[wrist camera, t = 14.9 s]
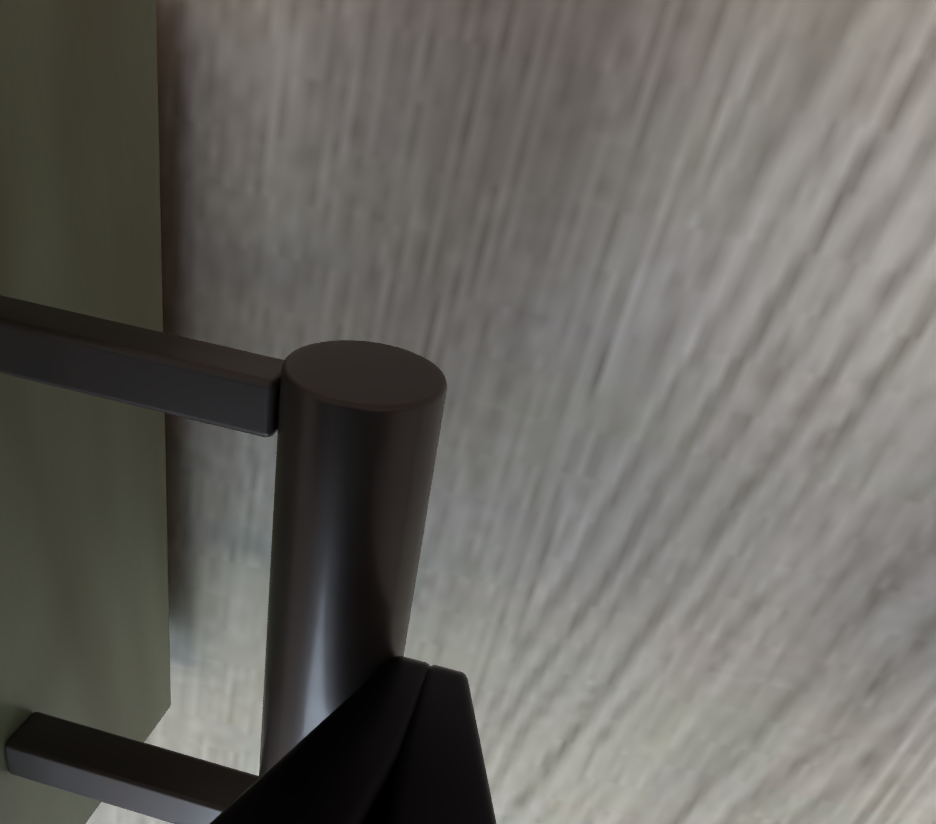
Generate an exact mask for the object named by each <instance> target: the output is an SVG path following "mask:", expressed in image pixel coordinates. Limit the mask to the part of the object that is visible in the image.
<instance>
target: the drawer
mask: <svg viewBox="0 0 936 824" xmlns="http://www.w3.org/2000/svg"><path fill="white" fill-rule="evenodd" d="M446 391H447V383H446V379H445V376H444V374H443V372H442V371H441V370H440V369H439V368H438V367H437V366H436V365H435V364H434V363H432V362H431V361H429V360H427V359H426V358H424V357H422V356H420V355H418V354H415V353H413V352H410V351H408V350H405V349H401V348H398V347H394V346H390V345H386V344H381V343H374V342H366V341H346V340H342V341H327V342H320V343H315V344H311V345H307V346H304V347H301V348H299V349H297V350H295V351H294V352H292V353H291V354H290V355H289V356H288V357H287V358H286V359H285V360H281V359H277V358H272V357H268V356H264V355H259V354H255V353H250V352H246V351H242V350H237V349H233V348H229V347H224V346H220V345H216V344H211V343H207V342H203V341H198V340H194V339H189V338H185V337H181V336H176V335H172V334H168V333H163V308H162V261H161V213H160V165H159V117H158V70H157V22H156V0H0V824H86V822H87V821H88V819H89V818H90V817H91V815H92V814H93V812H94V811H95V810H96V808H97V807H98V806H99V804H100V803H101V802H104V803H108V804H111V805H114V806H117V807H121V808H124V809H127V810H131V811H134V812H137V813H141V814H144V815H147V816H150V817H154V818H157V819H160V820H164V821H167V822H170V823H174V824H210V823H211V822H212V821H213V820H214V819H215V818H216V817H217V816H219V815H220V814H221V813H222V812H223V811H224V810H225V809H226V808H227V807H228V806H230V805H231V804H232V803H233V802H234V801H235V800H236V799H237V798H238V797H239V796H241V795H242V794H243V793H244V792H245V791H246V790H247V789H248V788H249V787H251V786H252V785H253V784H254V783H255V782H256V781H257V780H258V779H259V778H260V777H262V776H263V775H264V774H265V773H266V772H267V771H268V770H269V769H270V768H271V767H273V766H274V765H275V764H276V763H277V762H278V761H279V760H280V759H281V758H282V757H284V756H285V755H286V754H287V753H288V752H289V751H290V750H291V749H292V748H293V747H295V746H296V745H297V744H298V743H299V742H300V741H301V740H302V739H303V738H304V737H306V736H307V735H308V734H309V733H310V732H311V731H312V730H313V729H314V728H316V727H317V726H318V725H319V724H320V723H321V722H322V721H323V720H324V719H325V718H327V717H328V716H329V715H330V714H331V713H332V712H333V711H334V710H335V709H336V708H338V707H339V706H340V705H341V704H342V703H343V702H344V701H345V700H346V699H347V698H349V697H350V696H351V695H352V694H353V693H354V692H355V691H356V690H357V689H358V688H360V687H361V686H362V685H363V684H364V683H365V682H366V681H367V680H368V679H369V678H371V677H372V676H373V675H374V674H375V673H376V672H377V671H378V670H379V669H381V668H382V667H383V666H384V665H385V664H386V663H387V662H388V661H389V660H391V659H392V658H393V657H396V656H404V650H405V644H406V637H407V631H408V625H409V619H410V613H411V607H412V600H413V594H414V588H415V582H416V576H417V570H418V563H419V557H420V551H421V545H422V539H423V533H424V526H425V520H426V514H427V508H428V502H429V496H430V489H431V483H432V477H433V471H434V465H435V459H436V453H437V446H438V440H439V434H440V428H441V422H442V416H443V409H444V403H445V397H446ZM165 413H167V414H171V415H175V416H179V417H184V418H188V419H192V420H196V421H200V422H204V423H208V424H213V425H217V426H221V427H225V428H229V429H233V430H237V431H241V432H246V433H250V434H254V435H258V436H262V437H270V436H273V435H274V433H275V432H276V431H277V430H278V438H277V456H276V475H275V493H274V511H273V530H272V548H271V567H270V585H269V604H268V622H267V640H266V659H265V677H264V696H263V714H262V733H261V751H260V770H259V776H256V775H253V774H249V773H246V772H242V771H239V770H236V769H232V768H229V767H225V766H222V765H218V764H215V763H212V762H208V761H205V760H201V759H198V758H194V757H191V756H188V755H184V754H181V753H177V752H174V751H171V750H167V749H164V748H160V747H157V746H153V745H150V744H147V743H144V742H145V740H146V739H147V738H148V736H149V735H150V734H151V732H152V731H153V729H154V728H155V727H156V725H157V724H158V722H159V721H160V720H161V718H162V717H163V716H164V714H165V713H166V711H167V710H168V709H169V707H170V705H171V691H170V643H169V595H168V547H167V500H166V452H165Z"/></svg>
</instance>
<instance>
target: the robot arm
mask: <svg viewBox="0 0 936 824" xmlns="http://www.w3.org/2000/svg"><path fill="white" fill-rule="evenodd" d="M210 824H496V819H495V814H494V809H493V804H492V799H491V794H490V789H489V784H488V779H487V774H486V769H485V764H484V759H483V754H482V749H481V744H480V739H479V734H478V729H477V724H476V719H475V714H474V709H473V704H472V699H471V694H470V688H469V683H468V679H467V677H466V675H465V674H464V673H462V672H460V671H456V670H452V669H448V668H444V667H441V666H437V665H433V666H430V665H429V664H428V663H426V662H422V661H418V660H414V659H410V658H406V657H403V656H396V657H393V658H392V659H391V660H389V661H388V662H387V663H386V664H385V665H384V666H383V667H382V668H381V669H379V670H378V671H377V672H376V673H375V674H374V675H373V676H372V677H371V678H369V679H368V680H367V681H366V682H365V683H364V684H363V685H362V686H361V687H360V688H358V689H357V690H356V691H355V692H354V693H353V694H352V695H351V696H350V697H349V698H347V699H346V700H345V701H344V702H343V703H342V704H341V705H340V706H339V707H338V708H336V709H335V710H334V711H333V712H332V713H331V714H330V715H329V716H328V717H327V718H325V719H324V720H323V721H322V722H321V723H320V724H319V725H318V726H317V727H316V728H314V729H313V730H312V731H311V732H310V733H309V734H308V735H307V736H306V737H304V738H303V739H302V740H301V741H300V742H299V743H298V744H297V745H296V746H295V747H293V748H292V749H291V750H290V751H289V752H288V753H287V754H286V755H285V756H284V757H282V758H281V759H280V760H279V761H278V762H277V763H276V764H275V765H274V766H273V767H271V768H270V769H269V770H268V771H267V772H266V773H265V774H264V775H263V776H262V777H260V778H259V779H258V780H257V781H256V782H255V783H254V784H253V785H252V786H251V787H249V788H248V789H247V790H246V791H245V792H244V793H243V794H242V795H241V796H239V797H238V798H237V799H236V800H235V801H234V802H233V803H232V804H231V805H230V806H228V807H227V808H226V809H225V810H224V811H223V812H222V813H221V814H220V815H219V816H217V817H216V818H215V819H214V820H213V821H212V822H211V823H210Z"/></svg>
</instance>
